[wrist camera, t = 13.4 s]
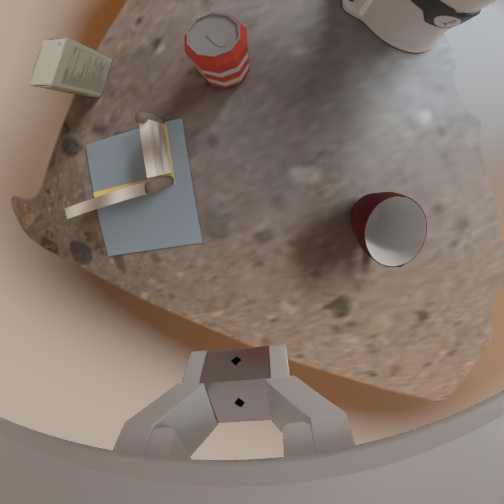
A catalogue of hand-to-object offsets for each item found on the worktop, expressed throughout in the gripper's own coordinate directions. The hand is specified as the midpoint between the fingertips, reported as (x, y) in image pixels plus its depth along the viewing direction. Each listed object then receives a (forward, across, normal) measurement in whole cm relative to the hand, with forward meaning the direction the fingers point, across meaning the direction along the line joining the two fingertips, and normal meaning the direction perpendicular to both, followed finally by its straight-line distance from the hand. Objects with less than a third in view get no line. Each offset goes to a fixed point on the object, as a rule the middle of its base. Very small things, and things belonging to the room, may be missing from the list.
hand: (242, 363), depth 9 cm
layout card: (+31, +15, -4) cm, 35 cm away
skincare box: (+31, +20, -23) cm, 44 cm away
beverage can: (+31, +1, -19) cm, 37 cm away
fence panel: (+30, +17, -5) cm, 35 cm away
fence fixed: (+31, +10, -9) cm, 34 cm away
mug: (+31, -16, +4) cm, 35 cm away
